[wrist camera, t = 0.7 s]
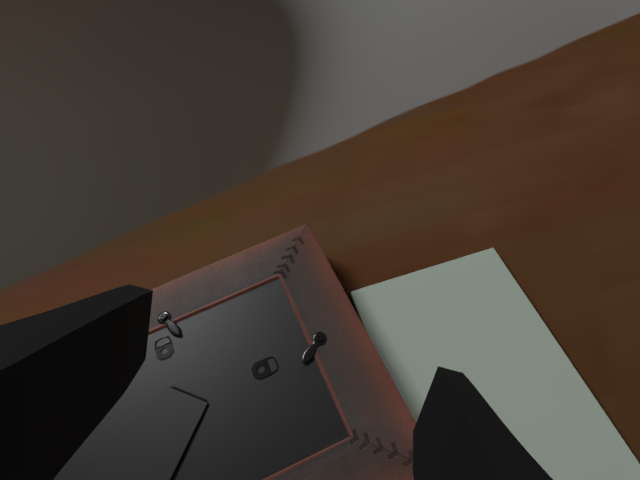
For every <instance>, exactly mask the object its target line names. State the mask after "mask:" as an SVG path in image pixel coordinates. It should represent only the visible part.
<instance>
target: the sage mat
mask: <svg viewBox="0 0 640 480" xmlns="http://www.w3.org/2000/svg"><path fill="white" fill-rule="evenodd" d="M351 297H352V300H353V302H354V305H355V307H356V310H357V313H358V315H359V318H360V320H361V322H362V324H363V326H364V328H365V330H366V331H367V333H368V335H369V337H370V339H371V341H372V342H373V344H374V346H375V348H376V350H377V352H378V353H379V355H380V357H381V359H382V361H383V363H384V365H385V366H386V368H387V370H388V372H389V374H390V376H391V377H392V379H393V381H394V383H395V385H396V387H397V388H398V390H399V392H400V394H401V396H402V398H403V400H404V401H405V403H406V405H407V407H408V409H409V411H410V412H411V414H412V416H413V418H414V420H415V422H417V420H418V417H419V414H420V412H421V409H422V407H423V404H424V401H425V399H426V396H427V394H428V391H429V389H430V386H431V383H432V381H433V378H434V376H435V373H436V370H437V368H438V366H439V367H443V368H447V369H450V370H454V371H458V372H462V373H464V375H465V376H466V377H467V378H468V379H469V380H470V381H471V383H472V384H473V385H474V386H475V388H476V389H477V390H478V391H479V393H480V394H481V395H482V396H483V398H484V399H485V400H486V401H487V403H488V404H489V405H490V407H491V408H492V409H493V410H494V412H495V413H496V414H497V415H498V417H499V418H500V419H501V420H502V422H503V423H504V424H505V425H506V426H507V428H508V429H509V430H510V431H511V433H512V434H513V435H514V436H515V437H516V439H517V440H518V441H519V442H520V443H521V444H522V446H523V447H524V448H525V449H526V450H527V451H528V453H529V454H530V455H531V456H532V457H533V458H534V459H535V460H536V461H537V463H538V464H539V465H540V466H541V467H542V468H543V469H544V470H545V471H546V472H547V474H548V475H549V476H550V477H551V478H552V479H553V480H640V464H639V462H638V461H637V459H636V458H635V456H634V455H633V453H632V452H631V450H630V449H629V448H628V446H627V445H626V443H625V442H624V440H623V439H622V437H621V436H620V434H619V433H618V431H617V430H616V428H615V427H614V425H613V424H612V422H611V421H610V419H609V418H608V417H607V415H606V414H605V412H604V411H603V409H602V408H601V406H600V405H599V403H598V402H597V400H596V399H595V397H594V396H593V394H592V393H591V391H590V390H589V388H588V387H587V385H586V384H585V383H584V381H583V380H582V378H581V377H580V375H579V374H578V372H577V371H576V369H575V368H574V366H573V365H572V363H571V362H570V360H569V359H568V357H567V356H566V354H565V353H564V352H563V350H562V349H561V347H560V346H559V344H558V343H557V341H556V340H555V338H554V337H553V335H552V334H551V332H550V331H549V329H548V328H547V326H546V325H545V323H544V322H543V320H542V319H541V318H540V316H539V315H538V313H537V312H536V310H535V309H534V307H533V306H532V304H531V303H530V301H529V300H528V298H527V297H526V295H525V294H524V292H523V291H522V289H521V288H520V287H519V285H518V284H517V282H516V281H515V279H514V278H513V276H512V275H511V273H510V272H509V270H508V269H507V267H506V266H505V264H504V263H503V261H502V260H501V258H500V257H499V256H498V254H497V253H496V251H495V250H494V248H490V249H487V250H484V251H481V252H478V253H474V254H471V255H468V256H465V257H461V258H458V259H455V260H452V261H448V262H445V263H442V264H439V265H435V266H432V267H429V268H426V269H422V270H419V271H416V272H413V273H410V274H406V275H403V276H400V277H397V278H393V279H390V280H387V281H384V282H380V283H377V284H374V285H371V286H367V287H364V288H361V289H358V290H355V291H351Z"/></svg>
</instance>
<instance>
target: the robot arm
mask: <svg viewBox="0 0 640 480" xmlns="http://www.w3.org/2000/svg"><path fill="white" fill-rule="evenodd" d="M152 296H153V291H152V290H148V289H144V288H141V287H137V286H133V285H126V286H122V287H119V288H115V289H112V290H109V291H106V292H103V293H100V294H97V295H94V296H91V297H89V298H86V299H83V300H80V301H77V302H74V303H71V304H68V305H65V306H62V307H59V308H56V309H53V310H50V311H47V312H44V313H40V314H37V315H34V316H30V317H27V318H24V319H20V320H17V321H14V322H10V323H7V324H4V325H0V480H53V479H54V478H55V477H56V475H57V474H58V473H59V472H60V470H61V469H62V468H63V467H64V465H65V464H66V463H67V462H68V461H69V459H70V458H71V457H72V456H73V455H74V453H75V452H76V451H77V450H78V449H79V447H80V446H81V445H82V444H83V443H84V441H85V440H86V439H87V438H88V437H89V435H90V434H91V433H92V432H93V431H94V429H95V428H96V427H97V426H98V425H99V423H100V422H101V421H102V420H103V419H104V417H105V416H106V415H107V414H108V413H109V411H110V410H111V409H112V408H113V406H114V405H115V404H116V403H117V402H118V400H119V399H120V398H121V397H122V395H123V394H124V393H125V391H126V390H127V388H128V387H129V385H130V384H131V382H132V380H133V379H134V377H135V376H136V374H137V372H138V371H139V369H140V368H141V366H142V364H143V363H144V361H145V359H146V351H147V342H148V333H149V324H150V314H151V305H152ZM413 478H414V480H553V479H552V478H551V477H550V476H549V475H548V474H547V472H546V471H545V470H544V469H543V468H542V467H541V466H540V465H539V464H538V463H537V461H536V460H535V459H534V458H533V457H532V456H531V455H530V454H529V453H528V451H527V450H526V449H525V448H524V447H523V446H522V444H521V443H520V442H519V441H518V440H517V439H516V437H515V436H514V435H513V434H512V433H511V431H510V430H509V429H508V428H507V426H506V425H505V424H504V423H503V422H502V420H501V419H500V418H499V417H498V415H497V414H496V413H495V412H494V410H493V409H492V408H491V407H490V405H489V404H488V403H487V401H486V400H485V399H484V398H483V396H482V395H481V394H480V393H479V391H478V390H477V389H476V388H475V386H474V385H473V384H472V383H471V381H470V380H469V379H468V378H467V377H466V376H465V375H464V373H462V372H458V371H454V370H450V369H447V368H443V367H439V366H438V368H437V370H436V373H435V376H434V378H433V381H432V383H431V386H430V389H429V391H428V394H427V396H426V399H425V401H424V404H423V407H422V409H421V412H420V414H419V417H418V420H417V422H416V425H415V427H414V430H413Z"/></svg>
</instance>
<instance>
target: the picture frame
mask: <svg viewBox="0 0 640 480" xmlns="http://www.w3.org/2000/svg"><path fill="white" fill-rule="evenodd" d="M151 290H152V291H153V296H152V305H151V314H150V324H149V333H148V342H147V351H146V359H145V361H144V363H143V364H142V366H141V368H140V369H139V371H138V372H137V374H136V376H135V377H134V379H133V380H132V382H131V384H130V385H129V387H128V388H127V390H126V391H125V393H124V394H123V395H122V397H121V398H120V399H119V400H118V402H117V403H116V404H115V405H114V406H113V408H112V409H111V410H110V411H109V413H108V414H107V415H106V416H105V417H104V419H103V420H102V421H101V422H100V423H99V425H98V426H97V427H96V428H95V429H94V431H93V432H92V433H91V434H90V435H89V437H88V438H87V439H86V440H85V441H84V443H83V444H82V445H81V446H80V447H79V449H78V450H77V451H76V452H75V453H74V455H73V456H72V457H71V458H70V459H69V461H68V462H67V463H66V464H65V465H64V467H63V468H62V469H61V470H60V472H59V473H58V474H57V475H56V477H55V478H54V479H53V480H414V478H413V430H414V427H415V425H416V422H415V420H414V418H413V416H412V414H411V412H410V411H409V409H408V407H407V405H406V403H405V401H404V400H403V398H402V396H401V394H400V392H399V390H398V388H397V387H396V385H395V383H394V381H393V379H392V377H391V376H390V374H389V372H388V370H387V368H386V366H385V365H384V363H383V361H382V359H381V357H380V355H379V353H378V352H377V350H376V348H375V346H374V344H373V342H372V341H371V339H370V337H369V335H368V333H367V331H366V330H365V328H364V326H363V324H362V322H361V320H360V318H359V317H358V315H357V313H356V311H355V309H354V307H353V306H352V304H351V302H350V300H349V298H348V296H347V295H346V293H345V291H344V289H343V287H342V285H341V283H340V282H339V280H338V278H337V276H336V274H335V272H334V271H333V269H332V267H331V265H330V263H329V261H328V260H327V258H326V256H325V254H324V252H323V250H322V248H321V247H320V245H319V243H318V241H317V239H316V237H315V236H314V234H313V232H312V230H311V228H310V226H309V225H308V223H307V224H305V225H302V226H300V227H298V228H295V229H293V230H291V231H288V232H286V233H283V234H281V235H279V236H276V237H274V238H272V239H269V240H267V241H265V242H262V243H260V244H257V245H255V246H253V247H250V248H248V249H246V250H243V251H241V252H239V253H236V254H234V255H231V256H229V257H227V258H224V259H222V260H220V261H217V262H215V263H213V264H210V265H208V266H205V267H203V268H201V269H198V270H196V271H194V272H191V273H189V274H187V275H184V276H182V277H179V278H177V279H175V280H172V281H170V282H168V283H165V284H163V285H161V286H158V287H156V288H153V289H151Z"/></svg>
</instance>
